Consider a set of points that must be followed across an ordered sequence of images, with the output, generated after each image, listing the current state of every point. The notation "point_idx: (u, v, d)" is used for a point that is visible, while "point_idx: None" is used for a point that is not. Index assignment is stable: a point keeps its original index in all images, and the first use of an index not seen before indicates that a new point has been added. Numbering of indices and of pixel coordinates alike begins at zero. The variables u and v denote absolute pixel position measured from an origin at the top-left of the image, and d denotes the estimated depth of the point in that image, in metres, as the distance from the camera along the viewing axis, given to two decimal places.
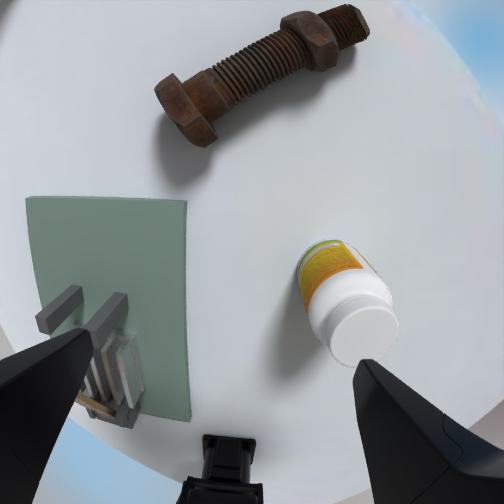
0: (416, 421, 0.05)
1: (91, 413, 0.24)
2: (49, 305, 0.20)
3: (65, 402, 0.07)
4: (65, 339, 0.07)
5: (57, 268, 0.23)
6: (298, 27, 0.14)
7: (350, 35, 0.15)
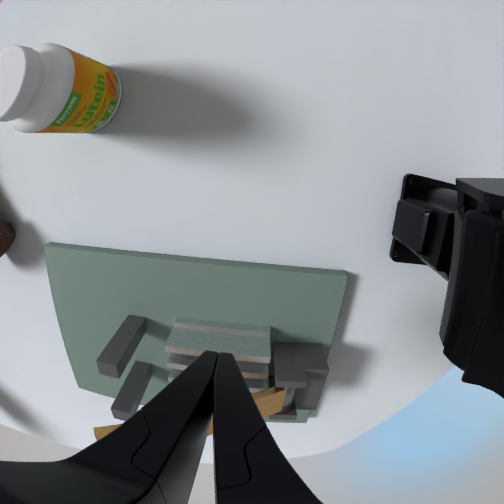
0: (220, 426, 0.05)
1: (285, 416, 0.19)
2: None
3: (203, 437, 0.07)
4: (204, 367, 0.07)
5: None
6: None
7: None
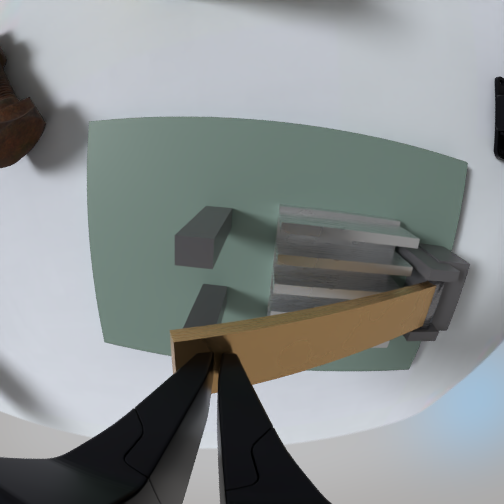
0: (227, 427, 0.05)
1: (426, 333, 0.14)
2: None
3: (199, 436, 0.07)
4: (199, 367, 0.07)
5: (182, 318, 0.19)
6: None
7: None
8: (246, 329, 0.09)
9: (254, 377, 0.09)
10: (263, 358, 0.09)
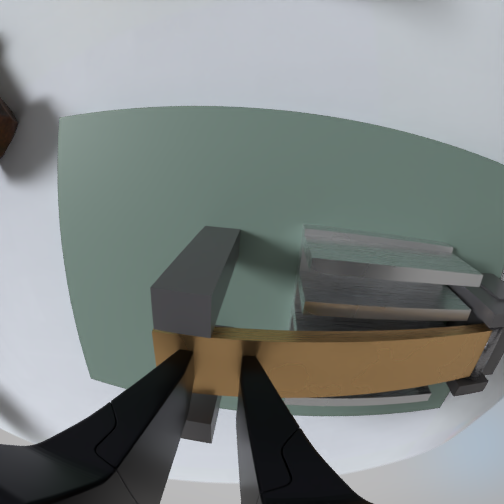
0: (255, 429, 0.05)
1: (475, 385, 0.09)
2: None
3: (178, 433, 0.07)
4: (178, 363, 0.07)
5: None
6: None
7: None
8: (229, 337, 0.08)
9: (238, 390, 0.09)
10: None
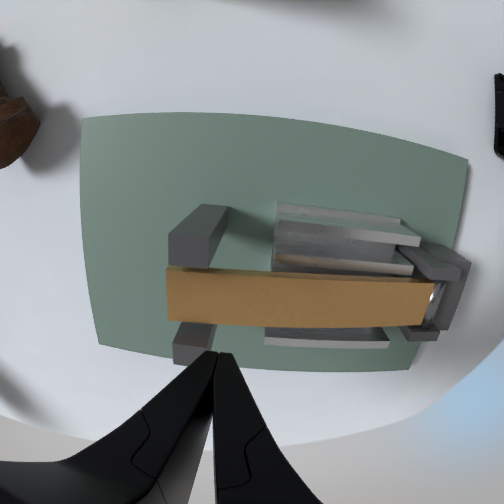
0: (220, 426, 0.05)
1: (427, 333, 0.13)
2: None
3: (204, 437, 0.07)
4: (204, 367, 0.07)
5: None
6: None
7: None
8: (220, 273, 0.12)
9: (227, 318, 0.13)
10: (234, 302, 0.12)
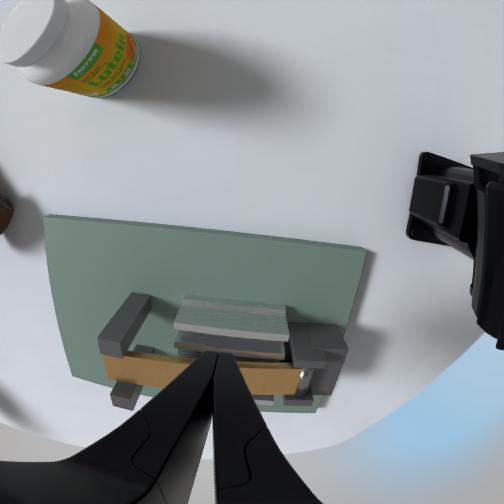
0: (220, 427, 0.05)
1: (301, 401, 0.18)
2: None
3: (204, 437, 0.07)
4: (204, 367, 0.07)
5: None
6: None
7: None
8: (135, 356, 0.16)
9: (143, 382, 0.17)
10: (146, 373, 0.17)
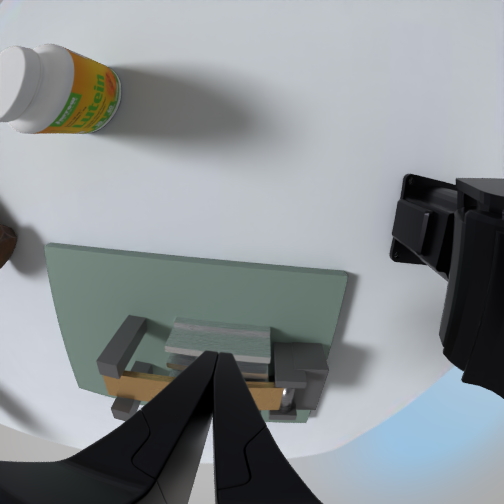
0: (220, 426, 0.05)
1: (285, 416, 0.19)
2: None
3: (204, 437, 0.07)
4: (204, 367, 0.07)
5: None
6: None
7: None
8: (131, 376, 0.18)
9: (140, 397, 0.18)
10: (142, 390, 0.18)
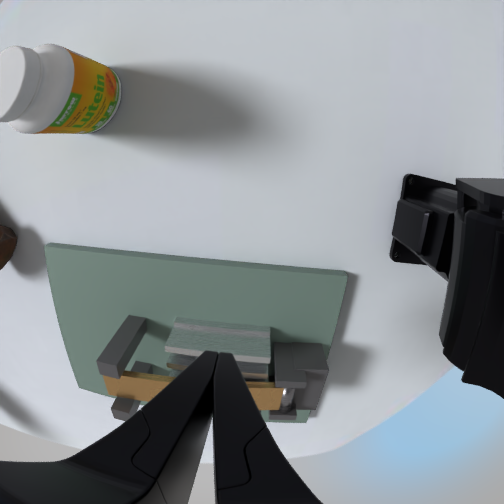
0: (220, 426, 0.05)
1: (285, 416, 0.19)
2: None
3: (204, 437, 0.07)
4: (204, 367, 0.07)
5: None
6: None
7: None
8: (131, 376, 0.18)
9: (140, 397, 0.18)
10: (142, 390, 0.18)
